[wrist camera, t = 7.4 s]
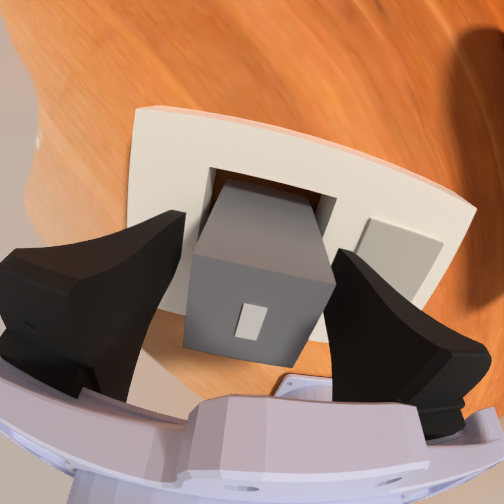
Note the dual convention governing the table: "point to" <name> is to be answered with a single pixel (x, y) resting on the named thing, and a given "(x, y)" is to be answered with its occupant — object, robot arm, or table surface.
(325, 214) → the white slotted base
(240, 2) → the table surface
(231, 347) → the block
